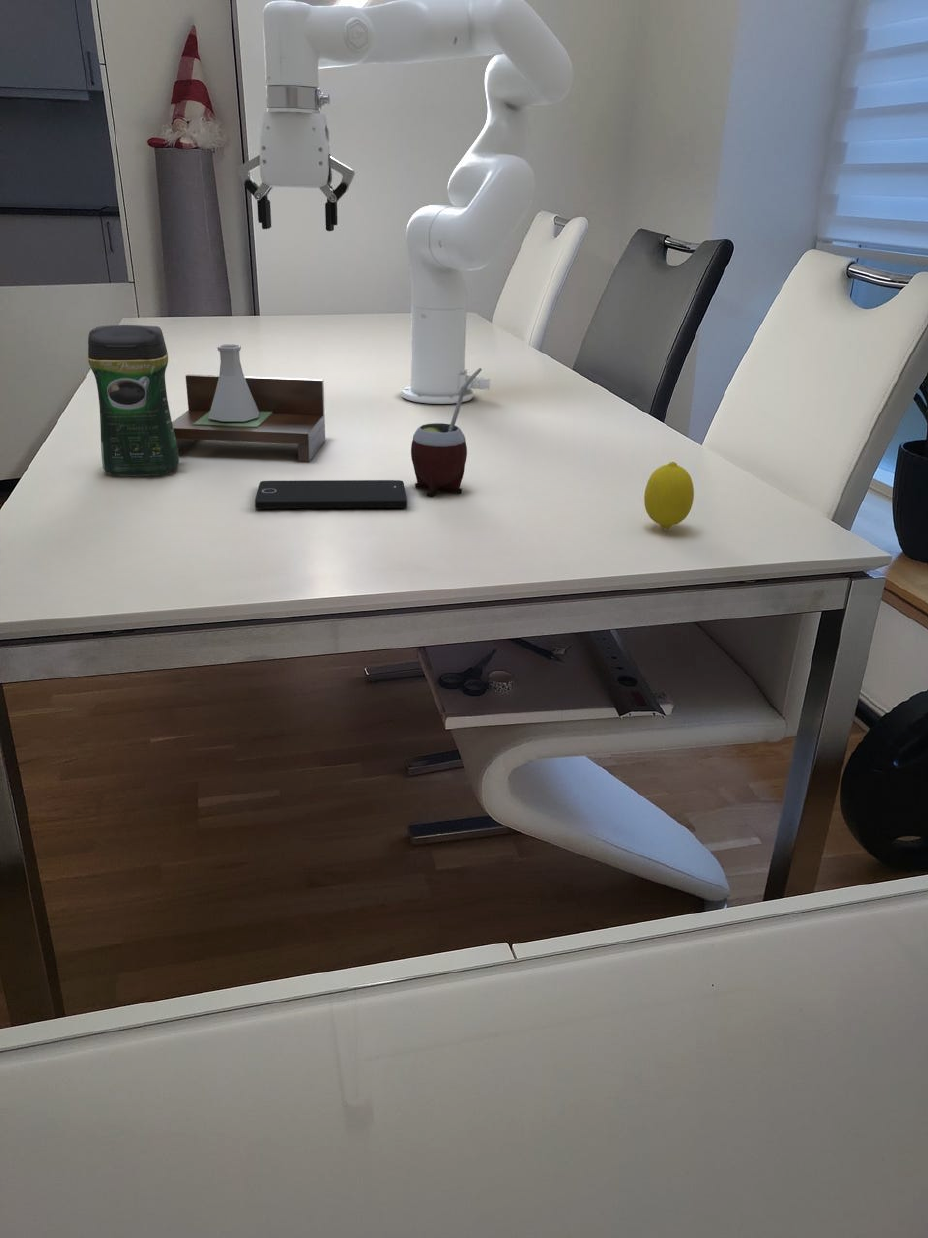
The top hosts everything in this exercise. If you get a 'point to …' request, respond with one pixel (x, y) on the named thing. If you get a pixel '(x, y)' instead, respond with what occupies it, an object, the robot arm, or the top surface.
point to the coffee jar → (133, 399)
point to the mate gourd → (441, 453)
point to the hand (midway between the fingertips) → (298, 229)
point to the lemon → (669, 495)
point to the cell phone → (331, 494)
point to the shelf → (282, 418)
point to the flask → (232, 389)
